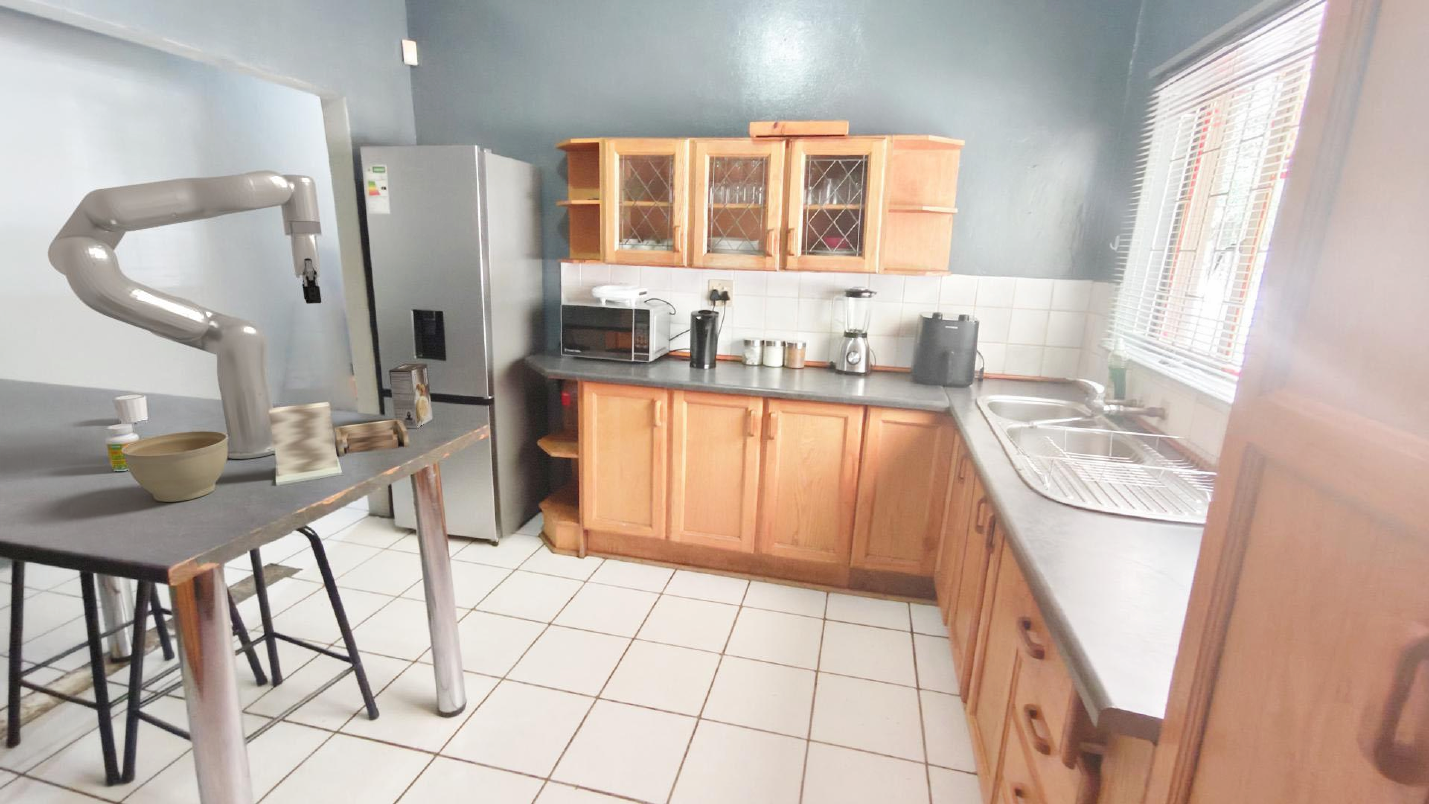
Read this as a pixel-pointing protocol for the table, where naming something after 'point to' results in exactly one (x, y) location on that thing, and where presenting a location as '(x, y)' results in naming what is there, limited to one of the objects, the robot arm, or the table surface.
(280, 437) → the birch sheet
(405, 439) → the pine rack
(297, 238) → the robot arm
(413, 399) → the coffee box
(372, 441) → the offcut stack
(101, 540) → the table surface
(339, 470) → the sage board
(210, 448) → the planter bowl
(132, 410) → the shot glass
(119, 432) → the supplement bottle
